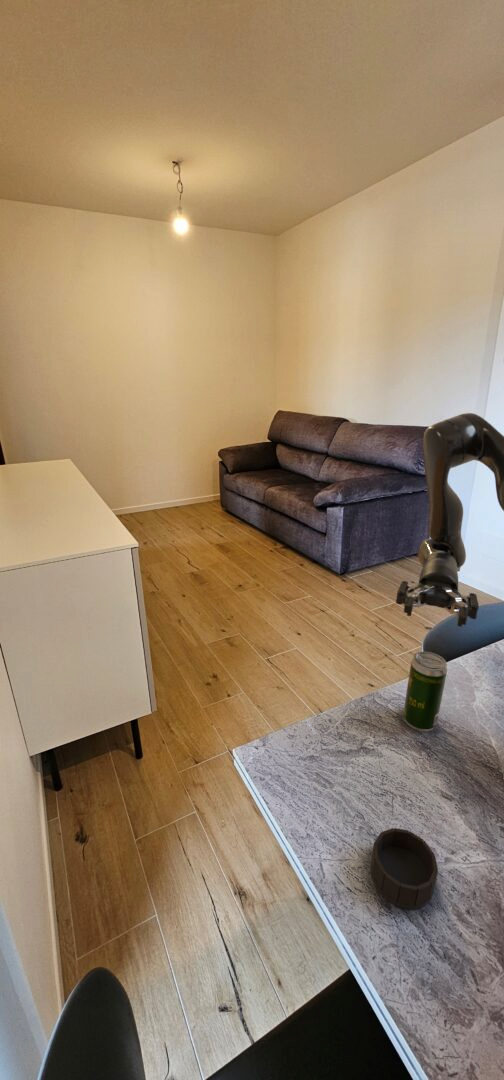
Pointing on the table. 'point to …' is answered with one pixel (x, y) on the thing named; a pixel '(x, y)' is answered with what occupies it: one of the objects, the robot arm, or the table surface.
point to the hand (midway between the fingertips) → (434, 616)
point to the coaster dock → (403, 868)
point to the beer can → (424, 691)
